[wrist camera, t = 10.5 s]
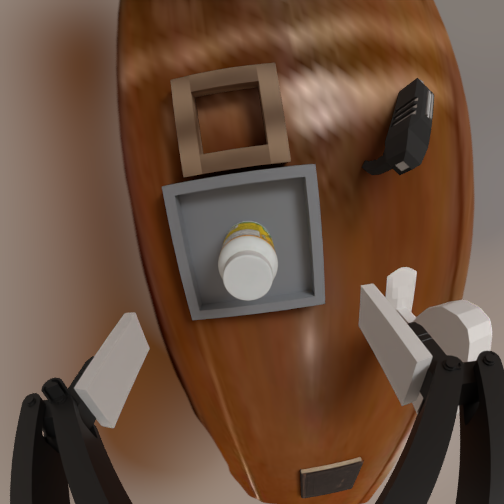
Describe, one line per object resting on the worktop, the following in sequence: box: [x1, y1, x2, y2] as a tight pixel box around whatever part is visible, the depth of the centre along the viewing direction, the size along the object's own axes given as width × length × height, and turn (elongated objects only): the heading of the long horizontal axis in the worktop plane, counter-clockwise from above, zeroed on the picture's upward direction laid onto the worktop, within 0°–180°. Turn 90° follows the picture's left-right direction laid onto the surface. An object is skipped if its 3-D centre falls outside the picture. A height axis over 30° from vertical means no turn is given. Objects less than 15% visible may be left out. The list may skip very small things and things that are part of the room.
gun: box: [362, 78, 434, 175], centre depth 25 cm, size 3×16×10 cm, turn 147°
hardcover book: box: [300, 457, 364, 498], centre depth 52 cm, size 16×23×2 cm
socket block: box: [171, 63, 291, 177], centre depth 26 cm, size 11×11×2 cm
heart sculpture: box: [385, 267, 492, 415], centre depth 26 cm, size 16×5×18 cm, turn 7°
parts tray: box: [162, 164, 325, 320], centre depth 30 cm, size 16×16×2 cm
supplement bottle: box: [218, 221, 278, 301], centre depth 26 cm, size 5×5×10 cm
